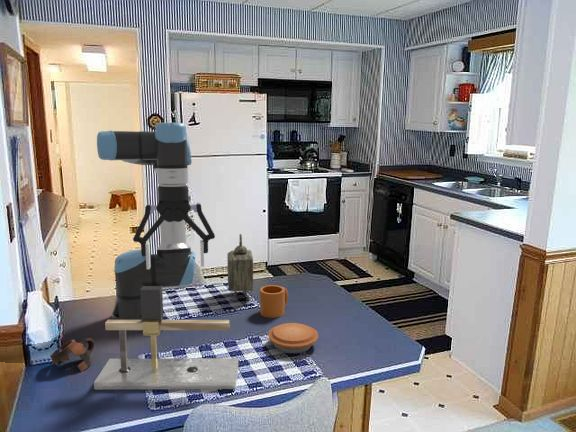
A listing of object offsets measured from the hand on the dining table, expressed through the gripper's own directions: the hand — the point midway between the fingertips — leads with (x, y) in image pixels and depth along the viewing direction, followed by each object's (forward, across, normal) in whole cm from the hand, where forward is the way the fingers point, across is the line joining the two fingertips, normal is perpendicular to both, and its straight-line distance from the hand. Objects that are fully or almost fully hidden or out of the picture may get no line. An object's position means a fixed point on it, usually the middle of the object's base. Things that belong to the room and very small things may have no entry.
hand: (175, 266), depth 120 cm
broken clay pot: (+30, -29, +12) cm, 43 cm away
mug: (+29, +33, +38) cm, 58 cm away
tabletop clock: (+28, +22, +55) cm, 66 cm away
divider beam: (+29, -2, +1) cm, 29 cm away
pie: (+30, +34, +13) cm, 47 cm away
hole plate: (+31, -2, +1) cm, 31 cm away
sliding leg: (+28, -6, +1) cm, 29 cm away
